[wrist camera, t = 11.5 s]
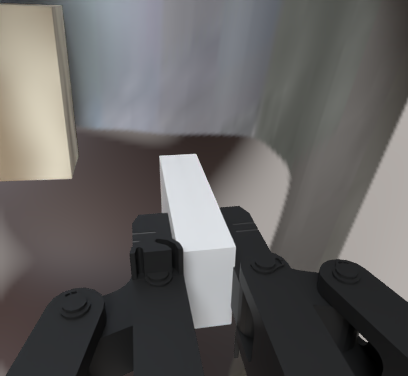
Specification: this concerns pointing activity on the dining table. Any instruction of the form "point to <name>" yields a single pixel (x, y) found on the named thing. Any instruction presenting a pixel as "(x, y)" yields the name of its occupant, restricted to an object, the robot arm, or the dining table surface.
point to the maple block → (35, 95)
